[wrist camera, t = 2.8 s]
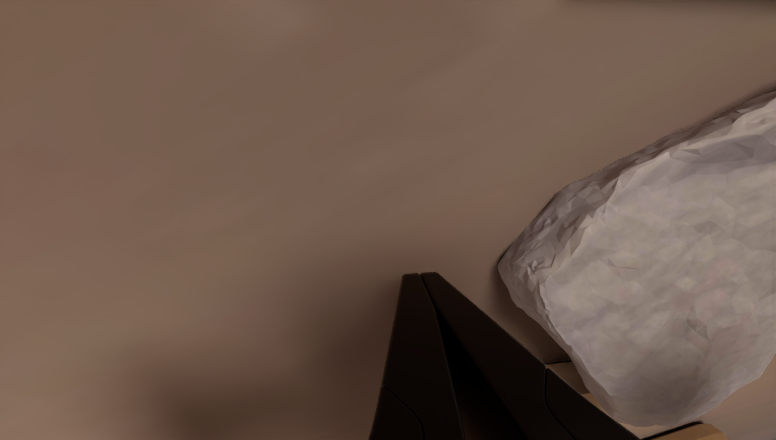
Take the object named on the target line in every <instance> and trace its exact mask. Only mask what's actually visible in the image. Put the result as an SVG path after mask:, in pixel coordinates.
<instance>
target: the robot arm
mask: <svg viewBox="0 0 776 440" xmlns="http://www.w3.org/2000/svg"><path fill="white" fill-rule="evenodd" d="M368 440H641V439H640V438H638V437H637V436H636V435H634V434H633V433H631V432H630V431H629V430H627V429H626V428H625V427H623V426H622V425H621V424H619V423H618V422H616V421H615V420H614V419H612V418H611V417H610V416H608V415H607V414H606V413H605V412H603V411H602V410H601V409H599V408H598V407H597V406H595V405H594V404H593V403H591V402H590V401H589V400H587V399H586V398H585V397H584V396H582V395H581V394H580V393H579V392H578V391H576V390H575V389H574V388H573V387H571V386H570V385H569V384H568V383H567V382H565V381H564V380H563V379H562V378H561V377H559V376H558V375H557V374H556V373H555V372H554V371H552V370H551V369H550V368H546V365H545V364H544V363H543V362H542V361H540V360H539V359H538V358H537V357H536V356H535V355H533V354H532V353H531V352H530V351H529V350H527V349H526V348H525V347H524V346H523V345H522V344H520V343H519V342H518V341H517V340H516V339H515V338H513V337H512V336H511V335H510V334H509V333H507V332H506V331H505V330H504V329H503V328H502V327H500V326H499V325H498V324H497V323H496V322H495V321H493V320H492V319H491V318H490V317H489V316H488V315H486V314H485V313H484V312H483V311H482V310H480V309H479V308H478V307H477V306H476V305H475V304H473V303H472V302H471V301H470V300H469V299H468V298H466V297H465V296H464V295H463V294H462V293H460V292H459V291H458V290H457V289H456V288H455V287H453V286H452V285H451V284H450V283H449V282H448V281H446V280H445V279H444V278H443V277H442V276H441V275H439V274H438V273H436V272H425V273H421V274H418V273H411V274H404V275H403V276H402V281H401V286H400V291H399V296H398V301H397V307H396V312H395V317H394V322H393V327H392V332H391V337H390V343H389V348H388V353H387V358H386V363H385V368H384V373H383V379H382V384H381V388H380V393H379V398H378V403H377V408H376V412H375V416H374V421H373V425H372V429H371V433H370V436H369V439H368Z"/></svg>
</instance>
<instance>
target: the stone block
mask: <svg viewBox="0 0 776 440" xmlns="http://www.w3.org/2000/svg"><path fill="white" fill-rule="evenodd" d="M498 270H499V273H500V276H501V278H502V280H503V282H504V283H505V285H506V286H507V288H508V290H509V293H510V297H511V300H512V301H513V302H514V303H515V304H516V306H517V307H518V308H521V309H523V310H524V311H525V313H526V314H527V315H528V316H530V317H531V318H533V319H534V320H535V321H536V322H537V323H539V324H540V325H541V326H542V327H543V329H544V330H545V331H546V332H547V333H548V334H549V335H550V336H551V337H552V338H553V339H554V340H555V341H556V343H557V344H558V345H559V346H560V347H561V348H562V349H563V350H564V351H565V352H566V353H567V354H568V355H569V357H570V358H571V360H572V362H573V363H574V365H575V366H576V368H577V371H578V373H579V374H580V376H581V377H582V380H583V382H584V385H585V387H586V388H587V389H588V390H589V391H590V393H591V394H592V395H593V396H594V397H595V398H596V400H597V401H598V402H599V404H600V405H601V407H602V408H603V409H604V410H605V411H606V412H607V413H608V414H609V415H610V416H611V417H612V418H613V419H614V420H616V421H618V422H621V423H625V424H629V425H633V426H642V427H647V426H652V425H661V426H668V427H672V426H675V425H678V424H681V423H684V422H687V421H690V420H693V419H696V418H698V417H700V416H702V415H704V414H705V413H707V412H709V411H711V410H712V409H714V408H715V407H716V406H718V405H719V404H720V403H721V402H722V401H723V400H725V399H726V398H727V397H729V396H730V395H731V394H732V393H734V392H735V391H736V390H738V389H740V388H741V387H742V386H744V385H746V384H748V383H750V382H752V381H754V380H756V379H758V378H760V377H761V375H762V373H763V372H764V370H765V369H766V368H767V366H768V365H769V363H770V362H771V360H772V358H773V356H774V355H775V354H776V91H774V92H770V93H767V94H763V95H760V96H758V97H755V98H753V99H750V100H748V101H746V102H745V103H743V104H741V105H739V106H736V107H734V108H732V109H730V110H728V111H726V112H724V113H723V114H721V115H720V116H719V117H718V118H716V119H715V120H713V121H710V122H708V123H705V124H703V125H700V126H696V127H693V128H691V129H688V130H686V131H684V132H682V133H678V134H673V135H668V136H665V137H663V138H662V139H660V140H658V141H656V142H654V143H652V144H651V145H649V146H647V147H646V148H644V149H642V150H640V151H638V152H636V153H634V154H632V155H629V156H627V157H624V158H622V159H619V160H617V161H616V162H614V163H612V164H610V165H609V166H607V167H605V168H604V169H603V170H601V171H599V172H597V173H595V174H593V175H591V176H589V177H587V178H584V179H582V180H579V181H577V182H574V183H572V184H569V185H568V186H566V187H565V188H563V189H562V190H560V191H558V192H557V193H556V194H555V196H554V197H553V198H552V200H551V201H550V203H549V204H548V205H547V206H546V208H545V209H544V210H543V211H542V212H541V213H540V214H539V215H538V216H537V217H536V218H535V219H534V220H533V221H532V222H531V224H530V225H528V226H527V227H526V229H525V230H524V231H523V232H522V234H521V235H520V236H519V238H518V239H517V240H516V241H515V242H514V243H513V244H512V245H511V246H510V247H509V248H508V250H507V251H506V253H505V254H504V256H503V257H502V259H501V260H500V262H499V264H498Z"/></svg>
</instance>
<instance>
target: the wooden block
mask: <svg viewBox="0 0 776 440" xmlns="http://www.w3.org/2000/svg"><path fill="white" fill-rule="evenodd" d="M649 440H729V439H728V438H727V437H726V436H725V435H724V434H723V433H722V432H721V431H719V430H718V429H716V428H715V427H714V426H712V425H711V424H697V425H691V426H688V427H685V428H682V429H679V430H676V431H673V432H670V433H667V434H664V435H661V436H658V437H655V438H652V439H649Z"/></svg>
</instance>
